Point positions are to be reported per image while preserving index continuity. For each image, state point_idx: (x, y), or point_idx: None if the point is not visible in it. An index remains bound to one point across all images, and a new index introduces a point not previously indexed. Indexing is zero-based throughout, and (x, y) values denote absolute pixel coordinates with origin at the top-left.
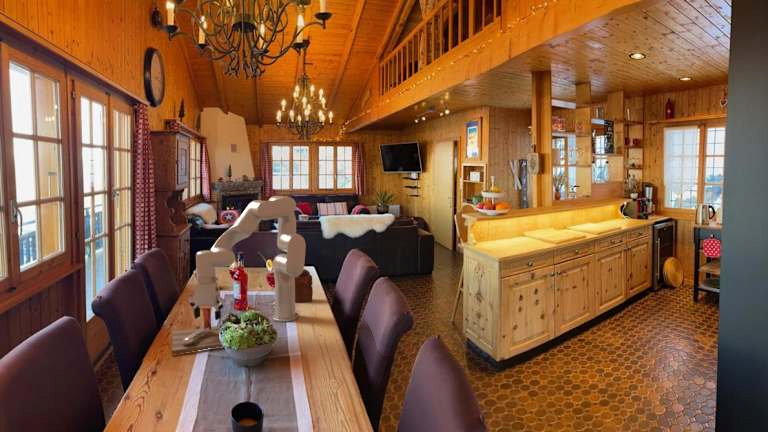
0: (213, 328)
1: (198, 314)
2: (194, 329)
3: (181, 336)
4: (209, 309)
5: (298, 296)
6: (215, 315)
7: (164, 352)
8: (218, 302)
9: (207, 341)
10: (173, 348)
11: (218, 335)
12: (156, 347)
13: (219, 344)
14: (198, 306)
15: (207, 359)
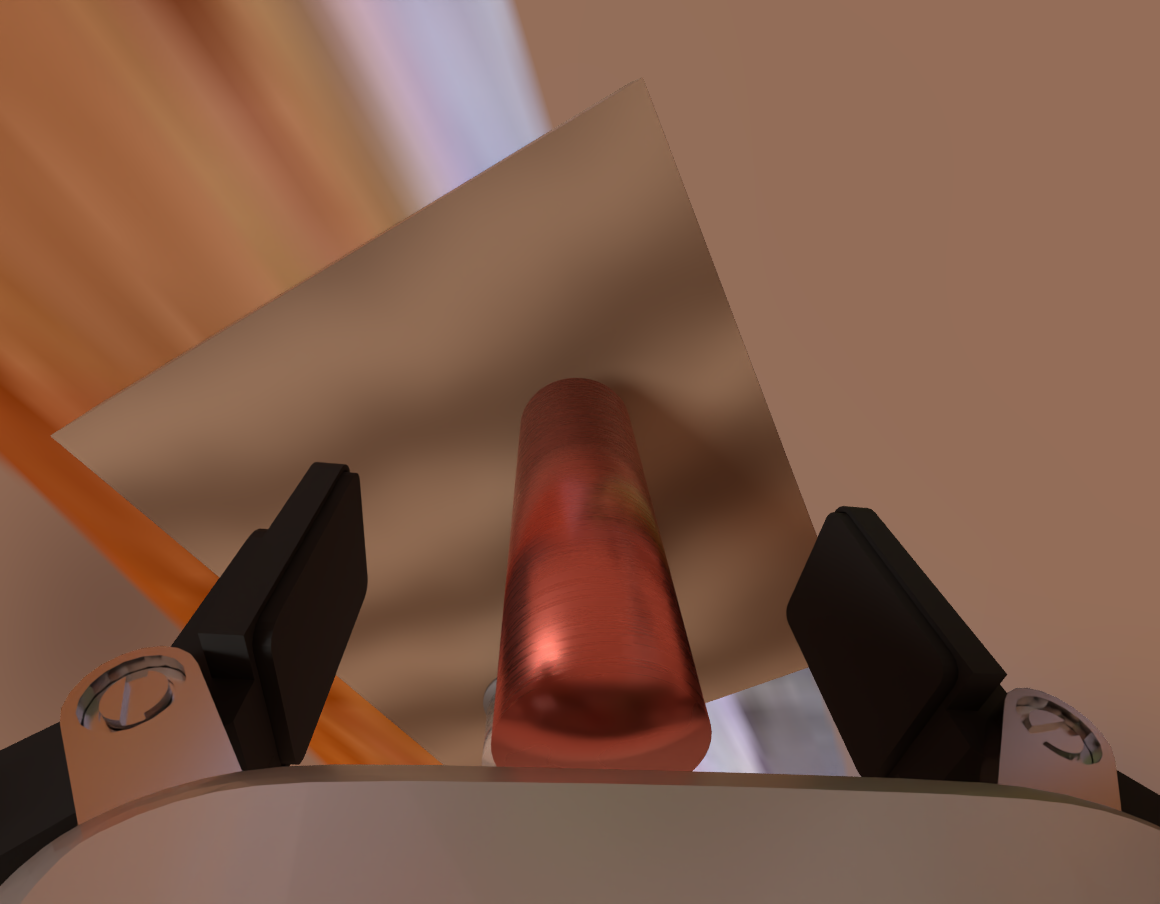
0: (590, 236)
1: (342, 567)
2: (296, 311)
3: None
4: (695, 759)
5: None
6: (832, 697)
7: (368, 713)
8: (1136, 875)
9: (686, 631)
10: (449, 758)
11: (759, 488)
12: None
13: None
14: (219, 731)
15: (757, 755)
